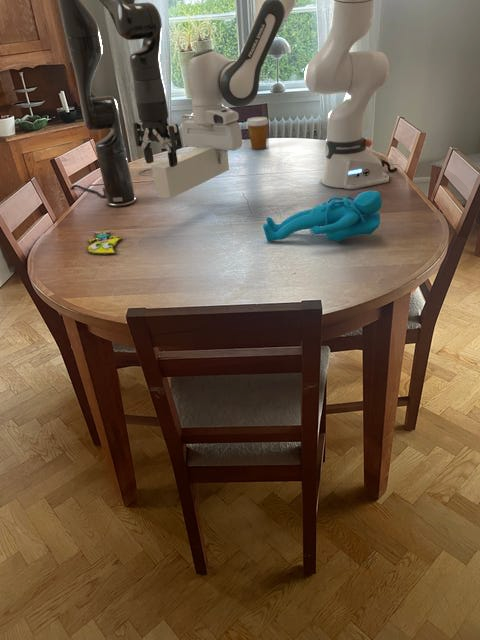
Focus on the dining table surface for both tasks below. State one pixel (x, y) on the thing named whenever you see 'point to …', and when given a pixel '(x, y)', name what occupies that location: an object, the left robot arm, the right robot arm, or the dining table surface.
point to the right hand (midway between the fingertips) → (213, 163)
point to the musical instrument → (144, 173)
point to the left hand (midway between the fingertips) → (161, 164)
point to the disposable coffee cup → (257, 131)
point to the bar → (188, 171)
